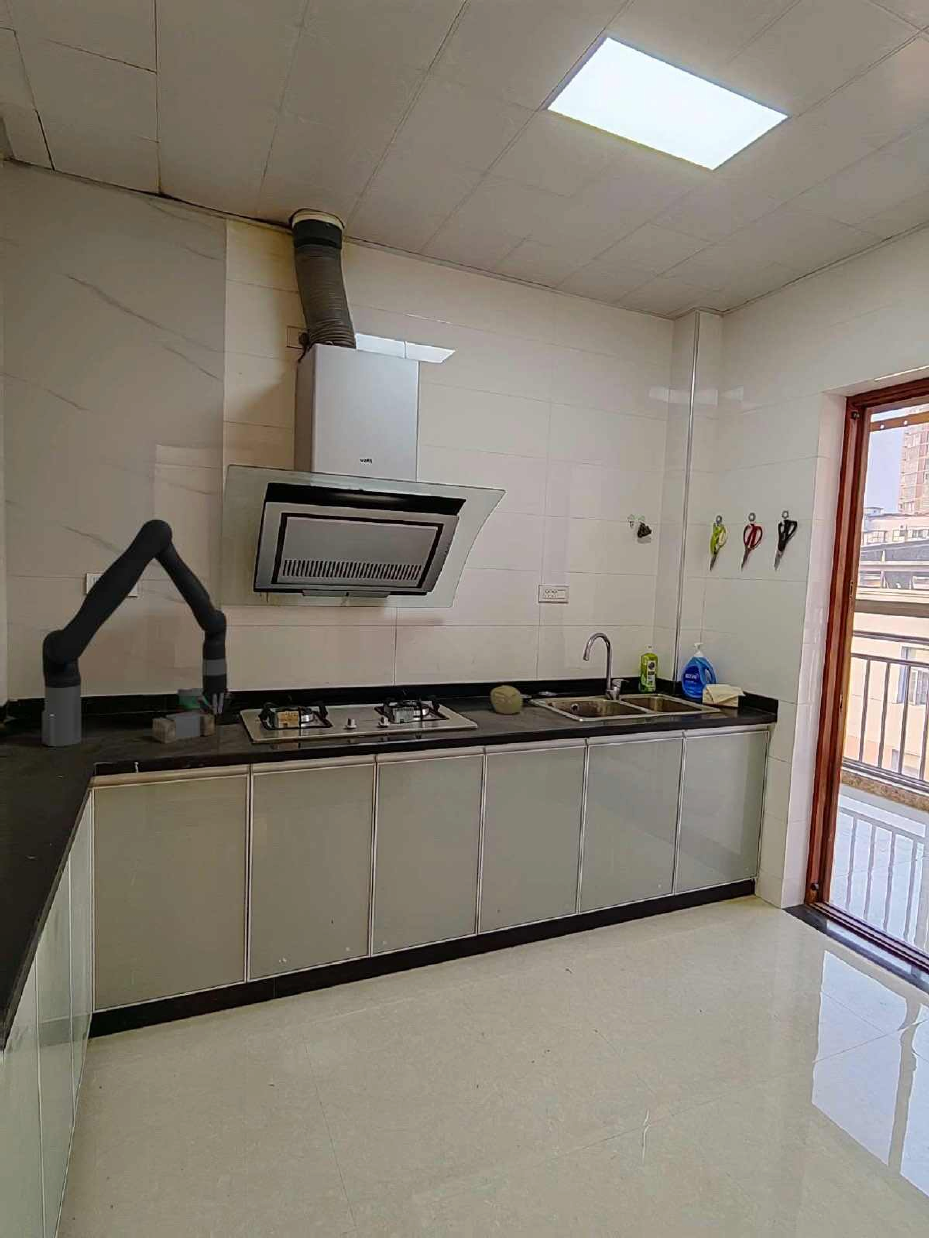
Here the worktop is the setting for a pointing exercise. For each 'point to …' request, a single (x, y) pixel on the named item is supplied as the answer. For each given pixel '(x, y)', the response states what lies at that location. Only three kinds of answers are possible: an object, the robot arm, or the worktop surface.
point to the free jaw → (207, 723)
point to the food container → (190, 700)
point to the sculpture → (506, 699)
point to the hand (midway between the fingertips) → (216, 724)
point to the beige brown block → (164, 730)
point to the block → (186, 724)
